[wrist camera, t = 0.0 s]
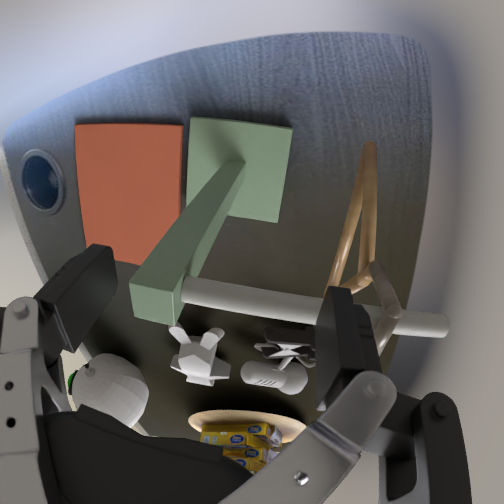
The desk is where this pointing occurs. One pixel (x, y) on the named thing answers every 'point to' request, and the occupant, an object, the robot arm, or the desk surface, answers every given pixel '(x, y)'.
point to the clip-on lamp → (286, 373)
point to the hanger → (367, 247)
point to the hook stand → (211, 219)
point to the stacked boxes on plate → (246, 434)
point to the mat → (128, 184)
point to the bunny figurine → (199, 356)
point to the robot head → (110, 388)
